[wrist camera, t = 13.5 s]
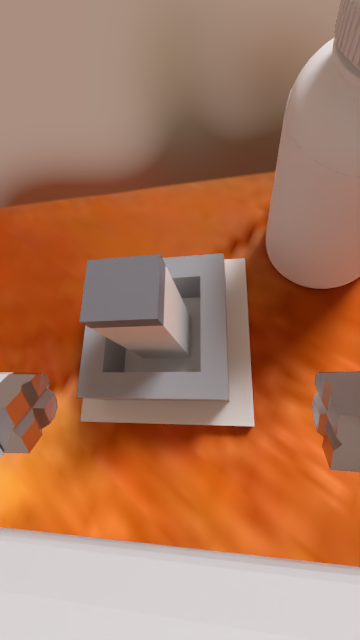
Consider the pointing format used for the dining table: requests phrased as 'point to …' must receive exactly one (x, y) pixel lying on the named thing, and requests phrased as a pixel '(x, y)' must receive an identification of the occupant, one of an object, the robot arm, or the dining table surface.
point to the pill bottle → (321, 166)
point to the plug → (136, 306)
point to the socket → (180, 358)
